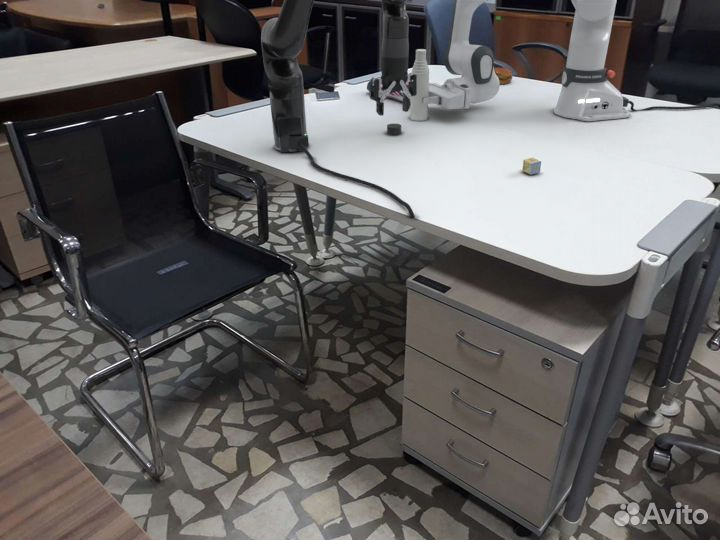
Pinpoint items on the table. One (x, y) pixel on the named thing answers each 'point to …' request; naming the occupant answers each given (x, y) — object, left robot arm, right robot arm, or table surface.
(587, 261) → the table surface
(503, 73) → the burger
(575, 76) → the right robot arm
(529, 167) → the alphabet block
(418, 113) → the bottle
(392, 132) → the cap
